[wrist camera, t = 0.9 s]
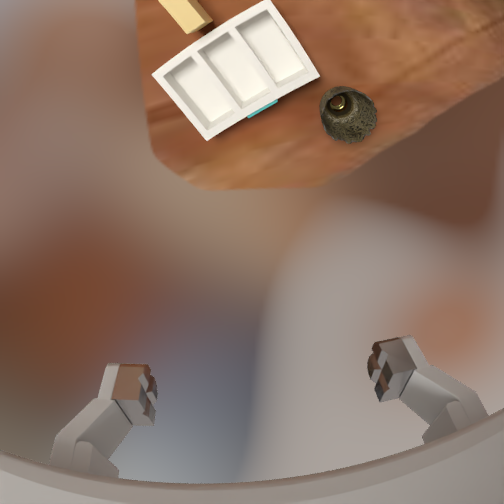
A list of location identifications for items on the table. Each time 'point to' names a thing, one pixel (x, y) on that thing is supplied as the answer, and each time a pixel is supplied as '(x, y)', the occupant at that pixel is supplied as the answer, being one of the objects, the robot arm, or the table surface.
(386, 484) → the robot arm
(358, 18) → the table surface
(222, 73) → the rack
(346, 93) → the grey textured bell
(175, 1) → the panel
